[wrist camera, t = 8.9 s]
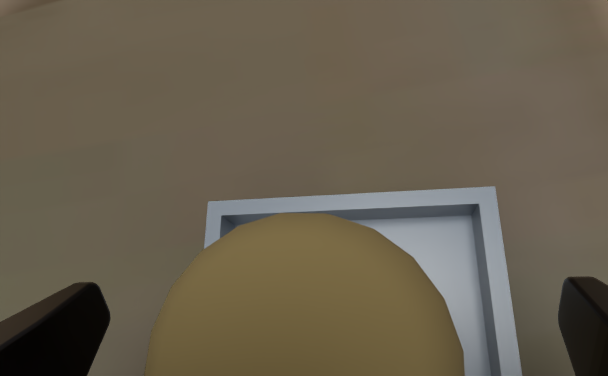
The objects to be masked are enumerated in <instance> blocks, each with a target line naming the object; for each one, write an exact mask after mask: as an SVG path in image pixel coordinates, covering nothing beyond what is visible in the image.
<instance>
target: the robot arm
mask: <svg viewBox="0 0 608 376" xmlns="http://www.w3.org/2000/svg"><path fill="white" fill-rule="evenodd" d="M109 323H110V311H109V309H108V306H107V304H106V301H105V299H104V297H103V294H102V292H101V289H100V287H99V286H98V285H97V284H96V283H93V282H79V283H75V284H72V285H70V286H68V287H67V288H65V289H63V290H61V291H59V292H57V293H55V294H53V295H51V296H49V297H47V298H46V299H44V300H42V301H40V302H38V303H36V304H34V305H32V306H30V307H28V308H26V309H24V310H23V311H21V312H19V313H17V314H15V315H13V316H11V317H9V318H7V319H5V320H3V321H2V322H0V376H87V374H88V372H89V370H90V367H91V365H92V363H93V360H94V358H95V356H96V353H97V351H98V349H99V346H100V344H101V342H102V339H103V337H104V335H105V333H106V330H107V328H108V326H109ZM558 323H559V327H560V330H561V333H562V336H563V339H564V342H565V345H566V348H567V351H568V354H569V357H570V360H571V363H572V366H573V369H574V372H575V375H576V376H608V285H606V284H605V283H603V282H601V281H600V280H598V279H596V278H594V277H568V278H566V279H565V280H564V282H563V286H562V292H561V298H560V305H559V311H558Z"/></svg>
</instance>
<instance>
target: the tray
mask: <svg viewBox="0 0 608 376" xmlns="http://www.w3.org/2000/svg"><path fill="white" fill-rule="evenodd" d="M279 213H325V214H331V215H334V216H337V217H340V218H343V219H346V220H349V221H352V222H355V223H358V224H361V225H364V226H367V227H370V228H373V229H375V230H377V231H378V232H379V233H381V234H382V235H383V236H385V237H386V238H388V239H389V240H390V241H392V242H393V243H394V244H396V245H397V246H399V247H400V248H401V249H403V250H404V251H405V252H407V253H408V254H410V255H411V256H412V257H414V259H415V260H416V261H417V263H418V264H419V265H420V267H421V268H422V269H423V271H424V272H425V273H426V275H427V276H428V277H429V279H430V280H431V281H432V283H433V284H434V285H435V287H436V288H437V289H438V291H439V292H440V293H441V295H442V296H443V297H444V299H445V301H446V304H447V307H448V310H449V312H450V315H451V318H452V321H453V323H454V326H455V329H456V332H457V334H458V337H459V340H460V343H461V345H462V348H463V351H464V370H465V376H522V371H521V364H520V357H519V350H518V343H517V336H516V329H515V322H514V315H513V308H512V301H511V294H510V287H509V280H508V273H507V266H506V259H505V253H504V246H503V239H502V232H501V225H500V218H499V211H498V204H497V197H496V190H495V186H494V187H475V188H456V189H437V190H418V191H399V192H380V193H361V194H342V195H323V196H304V197H285V198H266V199H247V200H228V201H209V202H208V210H207V222H206V233H205V245H204V249H205V248H206V247H208V246H209V245H211V244H212V243H214V242H215V241H217V240H218V239H220V238H221V237H223V236H224V235H226V234H227V233H229V232H230V231H232V230H233V229H235V228H236V227H238V226H240V225H243V224H246V223H249V222H253V221H256V220H259V219H263V218H266V217H269V216H272V215H276V214H279Z"/></svg>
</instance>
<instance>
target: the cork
mask: <svg viewBox="0 0 608 376" xmlns="http://www.w3.org/2000/svg"><path fill="white" fill-rule="evenodd" d="M144 376H465V370H464V351H463V348H462V345H461V343H460V340H459V337H458V334H457V332H456V329H455V326H454V323H453V321H452V318H451V315H450V312H449V310H448V307H447V304H446V301H445V299H444V297H443V296H442V295H441V293H440V292H439V291H438V289H437V288H436V287H435V285H434V284H433V283H432V281H431V280H430V279H429V277H428V276H427V275H426V273H425V272H424V271H423V269H422V268H421V267H420V265H419V264H418V263H417V261H416V260H415V259H414V257H412V256H411V255H410V254H408V253H407V252H405V251H404V250H403V249H401V248H400V247H399V246H397V245H396V244H394V243H393V242H392V241H390V240H389V239H388V238H386V237H385V236H383V235H382V234H381V233H379V232H378V231H377V230H375V229H373V228H370V227H367V226H364V225H361V224H358V223H355V222H352V221H349V220H346V219H343V218H340V217H337V216H334V215H331V214H325V213H279V214H276V215H272V216H269V217H266V218H263V219H259V220H256V221H253V222H249V223H246V224H243V225H240V226H238V227H236V228H235V229H233V230H232V231H230V232H229V233H227V234H226V235H224V236H223V237H221V238H220V239H218V240H217V241H215V242H214V243H212V244H211V245H209V246H208V247H206V248H205V249H203V250H202V251H201V252H200V253H199V254H198V256H197V257H196V258H195V259H194V260H193V262H192V263H191V264H190V265H189V266H188V268H187V269H186V270H185V271H184V272H183V273H182V275H181V276H180V277H179V278H178V279H177V281H176V282H175V283H174V284H173V285H172V287H171V289H170V291H169V293H168V296H167V298H166V300H165V302H164V304H163V307H162V309H161V311H160V313H159V315H158V318H157V320H156V322H155V324H154V326H153V329H152V331H151V337H150V343H149V349H148V355H147V361H146V367H145V373H144Z"/></svg>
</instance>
